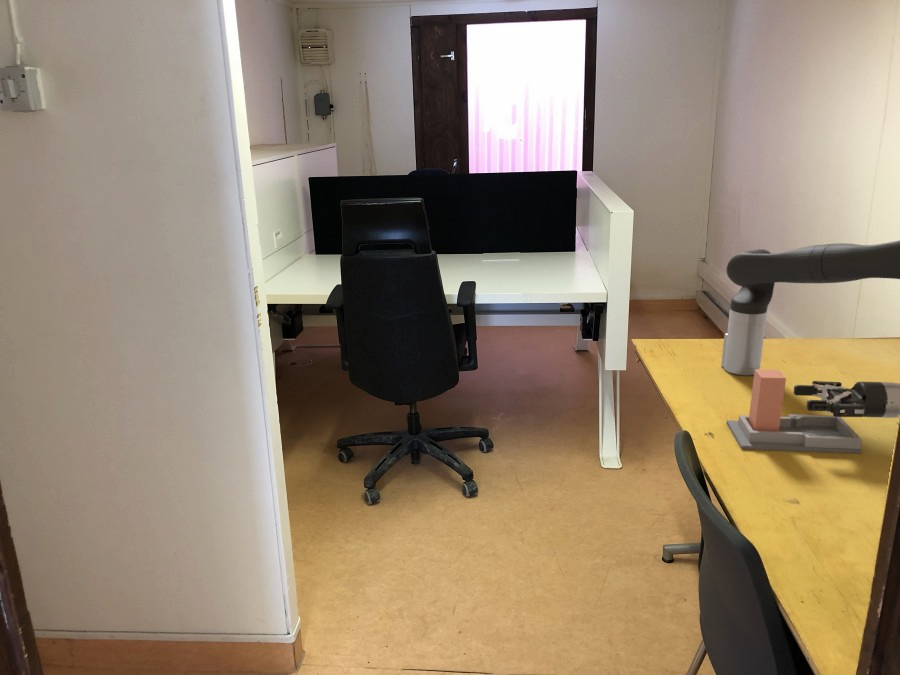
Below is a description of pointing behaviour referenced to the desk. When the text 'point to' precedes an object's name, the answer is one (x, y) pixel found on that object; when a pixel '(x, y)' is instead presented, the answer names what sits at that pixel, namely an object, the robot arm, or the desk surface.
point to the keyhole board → (799, 435)
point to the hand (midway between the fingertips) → (800, 397)
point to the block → (766, 400)
